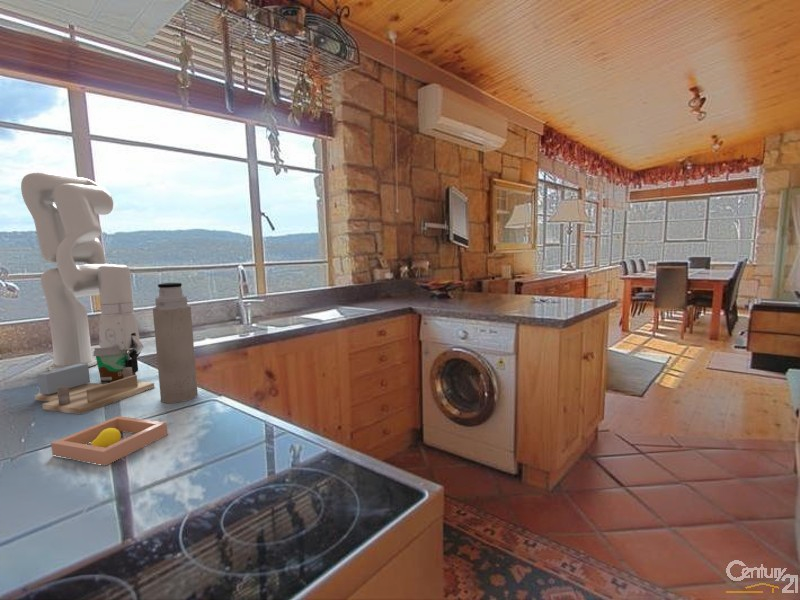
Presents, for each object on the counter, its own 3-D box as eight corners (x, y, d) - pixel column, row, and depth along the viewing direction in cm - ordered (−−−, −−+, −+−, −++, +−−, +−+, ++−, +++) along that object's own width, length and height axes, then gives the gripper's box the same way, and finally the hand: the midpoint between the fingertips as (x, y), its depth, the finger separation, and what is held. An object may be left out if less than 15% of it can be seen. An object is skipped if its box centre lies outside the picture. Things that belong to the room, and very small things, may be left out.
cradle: (16, 405, 99) (13, 384, 98) (96, 381, 117) (94, 363, 116) (80, 414, 92) (77, 391, 92) (154, 387, 110) (152, 368, 110)
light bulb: (126, 443, 78) (121, 429, 76) (90, 464, 73) (84, 450, 71) (118, 434, 79) (112, 420, 77) (82, 454, 75) (75, 440, 73)
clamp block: (40, 393, 103) (37, 373, 102) (81, 381, 112) (79, 363, 112) (48, 394, 102) (46, 374, 101) (90, 382, 111) (88, 363, 111)
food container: (115, 385, 113) (111, 349, 112) (96, 384, 114) (92, 348, 113) (150, 372, 125) (148, 339, 124) (133, 371, 126) (130, 339, 125)
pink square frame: (52, 456, 73) (51, 442, 73) (119, 427, 84) (118, 416, 84) (105, 466, 69) (103, 451, 69) (167, 434, 81) (166, 422, 80)
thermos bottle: (182, 390, 107) (173, 281, 104) (205, 394, 104) (196, 281, 101) (153, 400, 100) (142, 284, 97) (176, 405, 97) (165, 284, 94)
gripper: (81, 310, 117) (88, 373, 119) (128, 312, 111) (134, 377, 113) (107, 306, 124) (113, 366, 126) (152, 308, 118) (158, 370, 120)
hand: (123, 371), depth 119 cm, fingers open, 6 cm apart
